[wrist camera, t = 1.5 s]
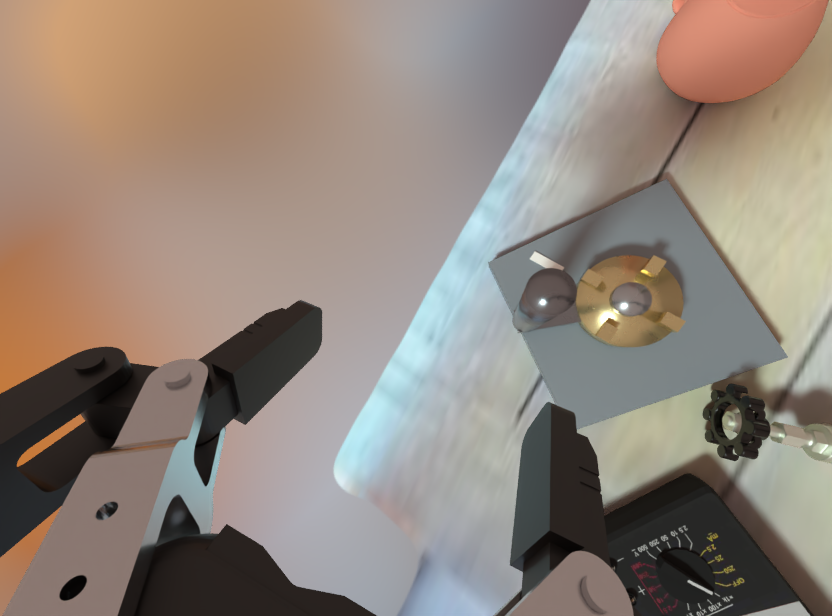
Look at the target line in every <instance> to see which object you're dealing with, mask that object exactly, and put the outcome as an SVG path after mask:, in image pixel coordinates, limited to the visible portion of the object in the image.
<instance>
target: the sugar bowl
mask: <svg viewBox="0 0 832 616" xmlns="http://www.w3.org/2000/svg"><path fill="white" fill-rule="evenodd" d="M827 4H828V0H673V4H672V7H673V11H674V13H675V14H676V15H675V16H674V17H673V19H672V20H671V22H670V23H669V25H668V26H667V28H666V30H665V31H664V33H663V35H662V37H661V39H660V42H659V45H658V49H657V67H658V70H659V73H660V75H661V77H662V79H663V81H664V82H665V84H666V85H667V86H668V87H669V88H670V89H671V90H672V91H673V92H674V93H676V94H677V95H679V96H680V97H682V98H685V99H687V100H690V101H694V102H700V103H721V102H729V101H734V100H738V99H742V98H745V97H748V96H750V95H753V94H755V93H757V92H759V91H761V90H763V89H765V88H767V87H769V86H770V85H772V84H773V83H775V82H776V81H778V80H779V79H780V78H781V77H782V76H783V75H785V74H786V73H787V72H788V70H789V69H790V68H791V67H792V66H793V65H794V64H795V63H796V62H797V61H798V59H799V58H800V57H801V56H802V54H803V53H804V51H805V50H806V49H807V47H808V46H809V44H810V43H811V41H812V39H813V38H814V36H815V34H816V32H817V30H818V28H819V26H820V24H821V22H822V19H823V16H824V13H825V10H826V7H827Z"/></svg>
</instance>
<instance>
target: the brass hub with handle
mask: <svg viewBox="0 0 832 616" xmlns="http://www.w3.org/2000/svg"><path fill="white" fill-rule="evenodd" d="M666 262H667V261H665V260H663V259H661V258H659V257H657V256H655V255H653V256H652V257H650V258H649V259H648V258H644V257H640V256H633V255H623V256H616V257H612V258H609V259H606V260H604V261H602V262H600V263H598V264H596V265H595V266H594V267H592V268H591V269H588V270H587V271H586V272H585V274H584V275H583V276H582V278H581V279H580V280H579V282H578V283H577V285H576V284H575V282H574V280H573V278H572V277H571V276H570V275H569V274H568V273H566V272H565V271H563V270H560V269H556V268H546V269H542V270H540V271H538V272H536V273H535V274H533V275H532V276H531V277H530V279H529V280H528V282H527V284H526V287H525V289H524V292H523V294H522V297H521V299H520V301H519V304H518V306H517V309H516V310H514V311H513V313H514V316H513V325H514V327H515V328H516V329H517V331H518V333H521V332H524V333H527V332H531V331H533V330H538V329H544V328H550V327H556V326H561V325H567V324H573V323H579V325H580V326H581V328H582V329H583V330H584V331H585V332H586V333H587V334H588V335H589V336H591V337H592V338H594V339H595V340H597V341H599V342H601V343H603V344H606V345H610V346H614V347H642V346H647V345H650V344H653V343H656V342H658V341H660V340H662V339H663V338H664V337H666V336H667V335H668V334H670V333H671V332H673V333H675V332H679V330H680V329H681V327H682V326H683V325H684V323H685V322H686V321H685V320H683V319H681V316H682V312H683V303H684V302H683V295H682V290H681V288H680V286H679V284H678V282H677V280H676V279H675V277H674V276H673V275H672V274H671V273H670V272H669V271H668V270H667V269H666V268H665V267H663V266H664V265H665V263H666Z"/></svg>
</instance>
